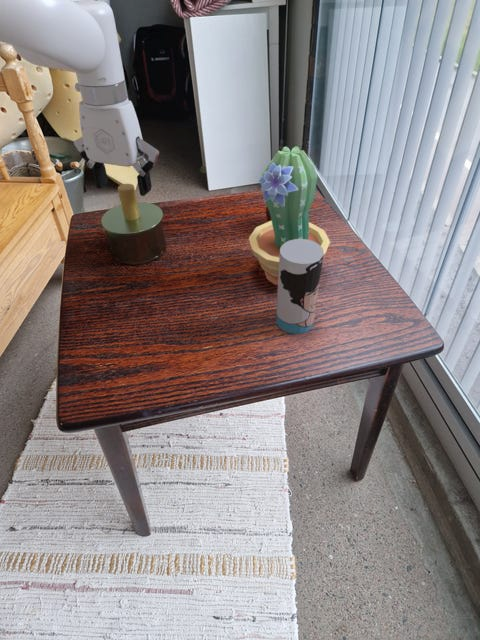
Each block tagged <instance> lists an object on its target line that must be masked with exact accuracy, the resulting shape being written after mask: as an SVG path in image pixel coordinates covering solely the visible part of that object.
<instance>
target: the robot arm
mask: <svg viewBox="0 0 480 640" xmlns="http://www.w3.org/2000/svg"><path fill="white" fill-rule="evenodd" d="M116 26H117V25H116V20H115V16H114V11H113V9H112V7H111V6H110V5H109V4H108V3H107V2H105V1H102V0H74V1H72V0H0V42H1V43H5V44H8V45H10V46H12V48H13V50H14V51H15V52H16V54H17V55H19V56H20V57H21V58H22V59H23V60H25V61H26V62H28V63H30V64H32V65H35V66H38V67H42V68H47V69H51V70H60V71H64V72H65V71H66V72H71V73H75V76H76V80H77V82H76V83H74V89H75V91H76V92H78V93H80V96H81V100H80V101H79V103H78V113H79V126H80V131H81V136H80V137H79V138H76V140H74V141H73V145H74V146H75V148H76V150H77V151H78V152H79V154H80V157H81V158H82V159H83V160H84V161H85V162H86V164H87V165H86V166H87V167H88V168H90V169H91V171H92V175H93V176H92V177H93V180H94V183H95V187H96V188H97V189H102V188H103V187H104V186H106V185H108V183H109V178H108V173H107V170H106V165H111V166H118V167H127V168H128V167H133V169H134V170H135V171H136V172H137V173H138V174H137V176H136V179H137V187H138V192H139V195H140V196H141V197H145V196H146V195H147V194H148V193H149V192H151V190H152V188H153V187H152V185H153V184H152V179H151V171H152V169H153V168H154V167H155V166H156V165H157V161H158V158H159V156H160V151H159V150H158V149H157V148H156V147H154V146H153V145H151V144H150V143H148V142H147V141H145V140H144V139H143V136H142V131H141V127H140V123H139V119H138V116H137V112H136V110H135V107H134V104H133V102H132V101H131V100H129V95H128V89H127V83H126V79H125V78H126V77H125V72H124V66H123V60H122V55H121V49H120V43H119V37H118V32H117V27H116ZM145 154H146V155H147V158H148V159H146V158H145Z"/></svg>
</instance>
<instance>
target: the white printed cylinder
mask: <svg viewBox="0 0 480 640" xmlns="http://www.w3.org/2000/svg"><path fill="white" fill-rule="evenodd" d="M323 255H324V251H323V248H322V247H321V246H320V245H319V244H317V243H316V242H314V241H311V240H306V239H294V240H290V241H288V242H285V243H284V244H283V245H282V246H281V248H280V259H279V276H278V285H277V294H276V295H277V296H276V299H277V300H276V310H275V312H276V314H275V322H276V325H277V327H278V328H279V329H281V330H282V331H283V332H285V333H287V334H292V335H298V334H299V335H300V334H304V333H307V332H308V331H310V330H311V329H312V328H313V327H314V323H315V316H316V311H317V310H316V309H317V303H318V296H319V288H320V282H321V281H320V280H321V275H322V268H323V261H324V258H323Z"/></svg>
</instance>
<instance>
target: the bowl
mask: <svg viewBox="0 0 480 640" xmlns="http://www.w3.org/2000/svg"><path fill="white" fill-rule="evenodd" d="M163 225H164V224H163V220H162V221H161V223H160V224H159V225H158V226H157V227H155V228H154V229H152V230H150V231H147V232H145V233H141V234H137V235H116V234H113V233H110V232H108V231H106V230H105V234H106V238H107V241H108V244H109V248H110V251H111V254H112V257H113V258H114V260H115V261H116V262H118V263H121V264H124V265H127V266H140V265H145V264H148V263H151V262H154V261H156V260H158V259H159V258H161V257H162V255H163V254H164V253H165V252H166V243H167V242H166V238H165V237H166V236H165V231H164V226H163Z"/></svg>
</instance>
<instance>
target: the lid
mask: <svg viewBox="0 0 480 640" xmlns="http://www.w3.org/2000/svg"><path fill="white" fill-rule="evenodd" d="M117 193H118V197H119V201H120V204H119V205H116V206H113V207H111V208H110V209H108V210H107V211H105V212H104V214H103V215H102V217H101V220H100V223H101V226H102V228H103V229H104V230H105V232H106V231H108V232H110V233H113V234H116V235H137V234H141V233H145V232H147V231H150V230H152V229H154V228H155V227H157V226H158V225H159V224H160V223H161V221H162V222H163V219H164V212H163V210H162V209H161V208H160V207H159V206H158V205H157V204H154V203H151V202H147V201H138V199H137V193H136V188H135V185H134V184H132V183H123V184H120V185H119V186H118V187H117Z"/></svg>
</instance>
